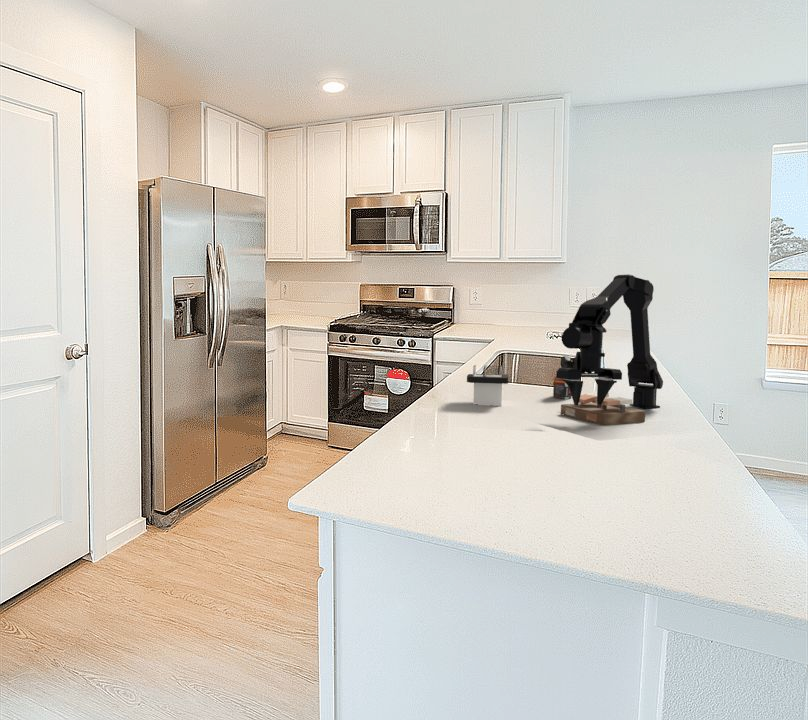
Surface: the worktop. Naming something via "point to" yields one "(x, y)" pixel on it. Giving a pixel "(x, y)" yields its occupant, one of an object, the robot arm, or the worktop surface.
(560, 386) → the supplement bottle
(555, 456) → the worktop surface
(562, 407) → the switch unit
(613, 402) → the block
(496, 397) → the white and black block
